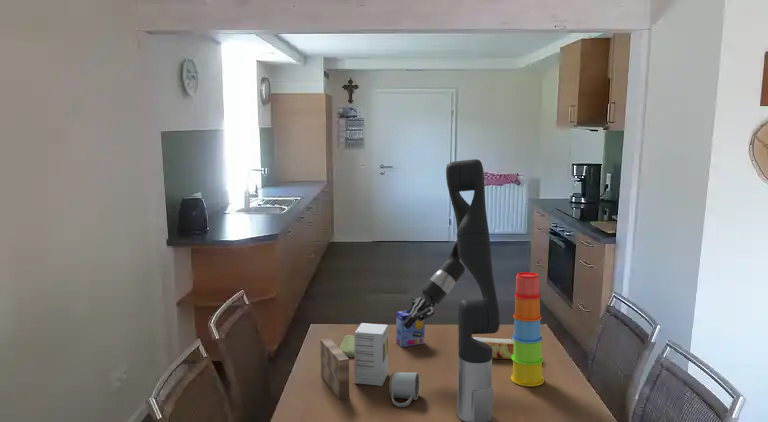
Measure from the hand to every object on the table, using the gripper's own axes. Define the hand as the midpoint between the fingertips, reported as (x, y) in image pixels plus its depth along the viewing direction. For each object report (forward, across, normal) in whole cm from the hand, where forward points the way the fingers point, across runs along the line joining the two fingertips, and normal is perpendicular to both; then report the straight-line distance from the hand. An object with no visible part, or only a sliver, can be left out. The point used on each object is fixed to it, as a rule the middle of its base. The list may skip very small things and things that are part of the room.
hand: (405, 327), depth 182 cm
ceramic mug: (+17, +17, +5) cm, 24 cm away
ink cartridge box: (+2, -22, +20) cm, 30 cm away
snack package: (-15, +2, +38) cm, 41 cm away
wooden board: (+28, 0, -6) cm, 29 cm away
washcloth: (+16, -25, +7) cm, 30 cm away
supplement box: (+20, 0, +3) cm, 20 cm away
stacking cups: (-12, +21, +34) cm, 42 cm away
